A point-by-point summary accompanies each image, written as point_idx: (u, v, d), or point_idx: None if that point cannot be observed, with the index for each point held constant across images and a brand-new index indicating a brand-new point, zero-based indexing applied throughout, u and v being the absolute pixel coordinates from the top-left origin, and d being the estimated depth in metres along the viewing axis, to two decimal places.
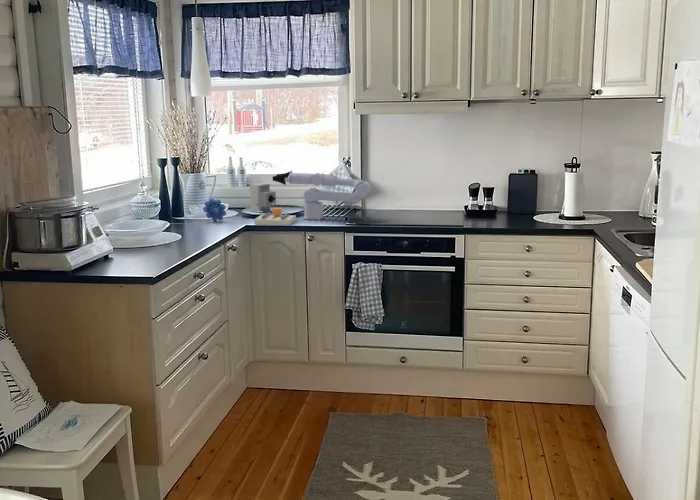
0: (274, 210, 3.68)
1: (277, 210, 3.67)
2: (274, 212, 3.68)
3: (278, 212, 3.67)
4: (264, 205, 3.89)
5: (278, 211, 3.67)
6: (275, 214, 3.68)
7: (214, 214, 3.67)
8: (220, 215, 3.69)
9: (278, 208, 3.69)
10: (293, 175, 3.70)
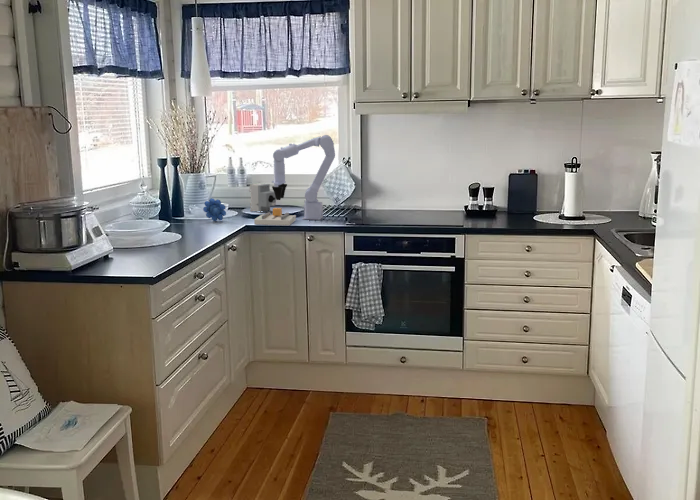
0: (274, 210, 3.68)
1: (277, 210, 3.67)
2: (274, 212, 3.68)
3: (278, 212, 3.67)
4: (264, 205, 3.89)
5: (278, 211, 3.67)
6: (275, 214, 3.68)
7: (214, 214, 3.67)
8: (220, 215, 3.68)
9: (278, 208, 3.69)
10: (275, 179, 3.69)
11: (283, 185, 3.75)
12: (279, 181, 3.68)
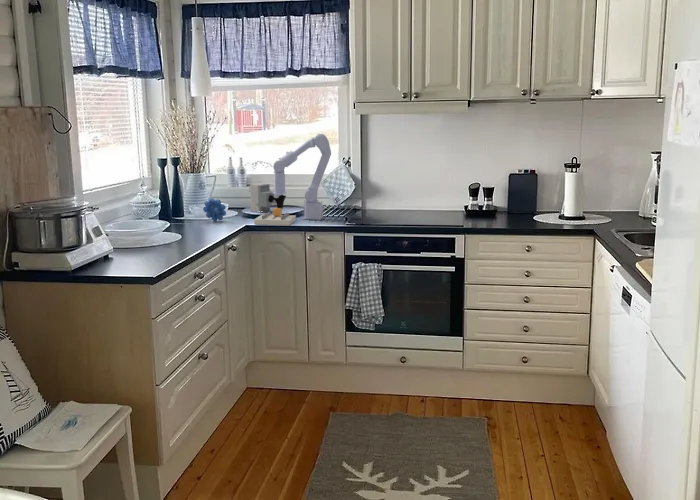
0: (274, 210, 3.68)
1: (277, 210, 3.67)
2: (274, 212, 3.68)
3: (278, 212, 3.67)
4: (264, 205, 3.89)
5: (278, 211, 3.67)
6: (275, 214, 3.68)
7: (214, 214, 3.67)
8: (220, 215, 3.69)
9: (278, 208, 3.69)
10: (275, 190, 3.70)
11: (282, 197, 3.73)
12: (279, 192, 3.70)
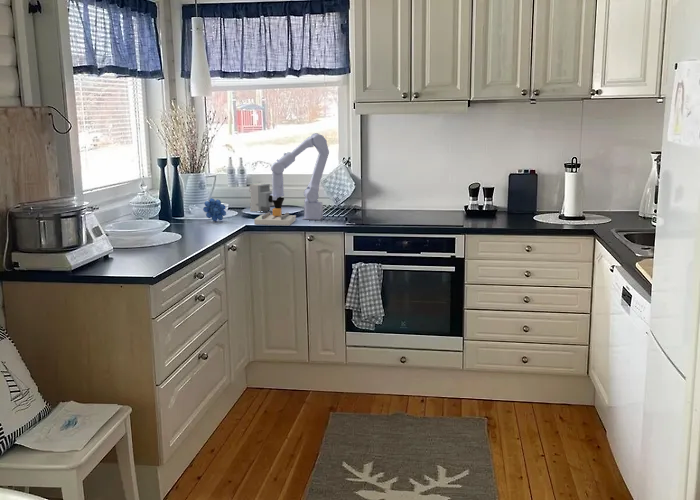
0: (274, 210, 3.67)
1: (277, 210, 3.67)
2: (274, 212, 3.67)
3: (278, 212, 3.67)
4: (264, 205, 3.89)
5: (278, 211, 3.67)
6: (275, 214, 3.68)
7: (214, 214, 3.67)
8: (220, 215, 3.69)
9: (278, 208, 3.68)
10: (273, 192, 3.67)
11: None
12: (277, 194, 3.66)
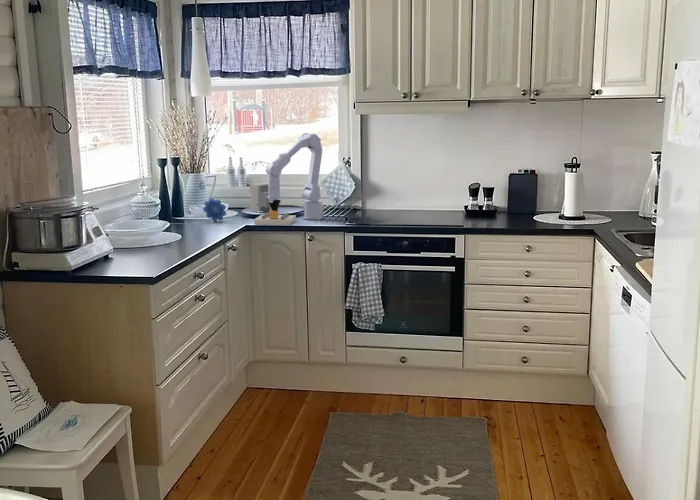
0: (270, 213, 3.61)
1: (273, 213, 3.60)
2: (270, 215, 3.61)
3: (274, 215, 3.60)
4: (264, 205, 3.89)
5: (274, 214, 3.60)
6: (271, 217, 3.61)
7: (214, 214, 3.67)
8: (220, 215, 3.69)
9: (274, 211, 3.62)
10: (269, 194, 3.60)
11: None
12: (274, 196, 3.59)
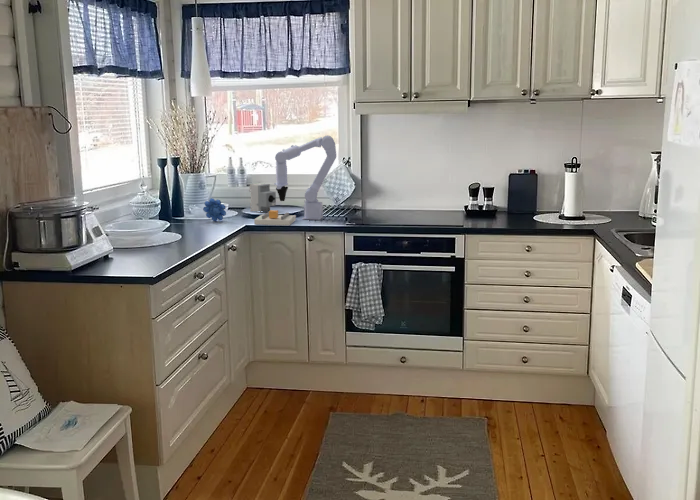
0: (270, 212, 3.61)
1: (273, 212, 3.60)
2: (270, 215, 3.61)
3: (274, 215, 3.61)
4: (264, 205, 3.89)
5: (274, 214, 3.61)
6: (271, 217, 3.61)
7: (214, 214, 3.67)
8: (220, 215, 3.69)
9: (274, 210, 3.62)
10: (277, 181, 3.69)
11: None
12: (281, 183, 3.69)
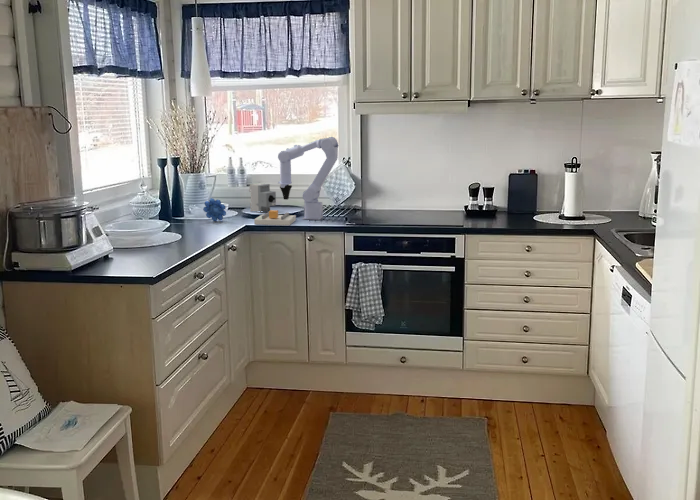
0: (270, 212, 3.61)
1: (273, 212, 3.60)
2: (270, 215, 3.61)
3: (274, 215, 3.61)
4: (264, 205, 3.89)
5: (274, 214, 3.61)
6: (271, 217, 3.61)
7: (214, 214, 3.67)
8: (220, 215, 3.69)
9: (274, 210, 3.62)
10: (281, 179, 3.74)
11: (288, 186, 3.77)
12: (285, 182, 3.73)
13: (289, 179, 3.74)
